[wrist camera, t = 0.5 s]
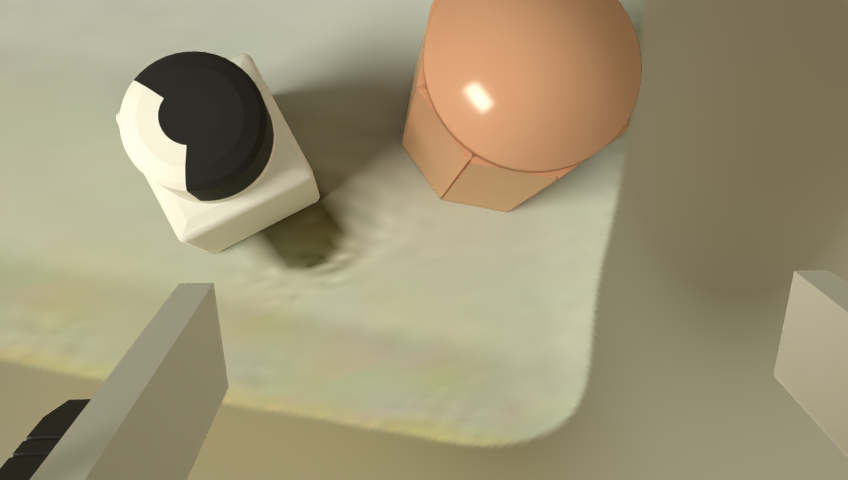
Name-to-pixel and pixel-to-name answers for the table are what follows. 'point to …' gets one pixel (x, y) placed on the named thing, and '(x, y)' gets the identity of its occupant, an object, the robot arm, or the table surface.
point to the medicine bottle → (214, 148)
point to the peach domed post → (518, 94)
